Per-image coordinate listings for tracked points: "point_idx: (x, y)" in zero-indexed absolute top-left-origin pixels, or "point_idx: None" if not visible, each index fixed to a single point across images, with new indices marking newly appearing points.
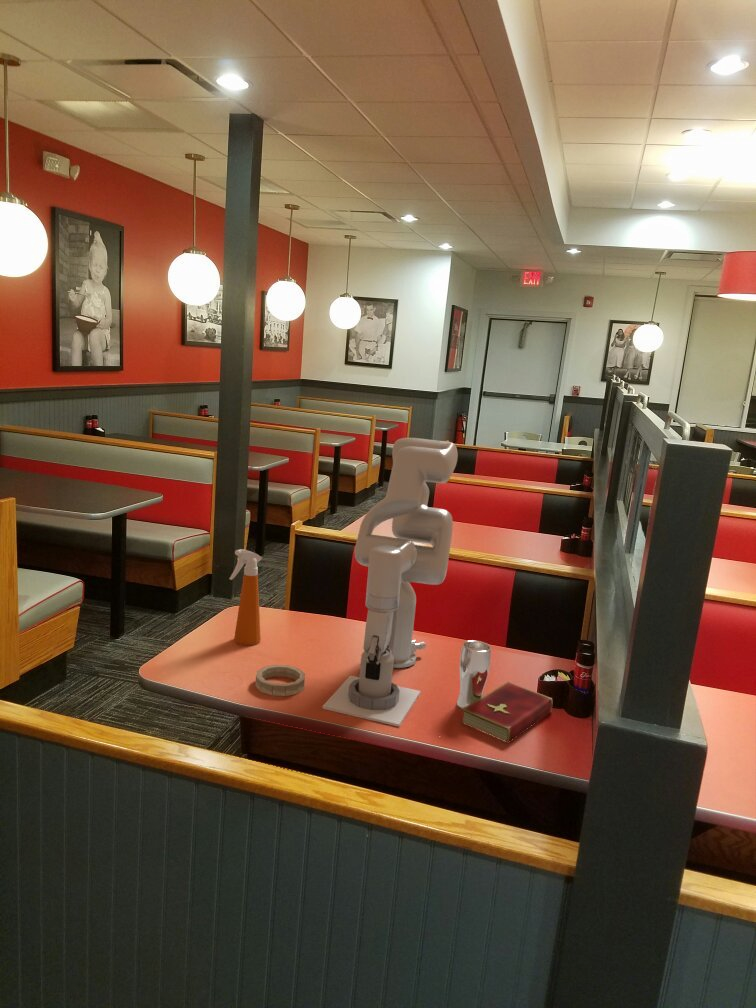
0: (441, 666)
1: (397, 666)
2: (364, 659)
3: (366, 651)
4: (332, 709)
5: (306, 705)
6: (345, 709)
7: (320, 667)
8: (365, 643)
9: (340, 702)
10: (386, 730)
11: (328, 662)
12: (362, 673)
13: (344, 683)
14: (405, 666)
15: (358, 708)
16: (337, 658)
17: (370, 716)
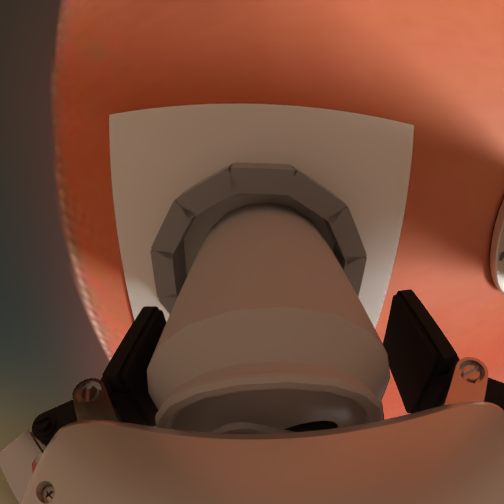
0: (492, 340)
1: (492, 264)
2: (158, 348)
3: (178, 401)
4: (111, 152)
5: (113, 60)
6: (125, 196)
7: (428, 17)
8: (33, 482)
9: (163, 157)
10: (113, 327)
11: (468, 43)
12: (190, 276)
13: (337, 115)
14: (494, 281)
15: (155, 234)
16: (498, 72)
17: (131, 284)
